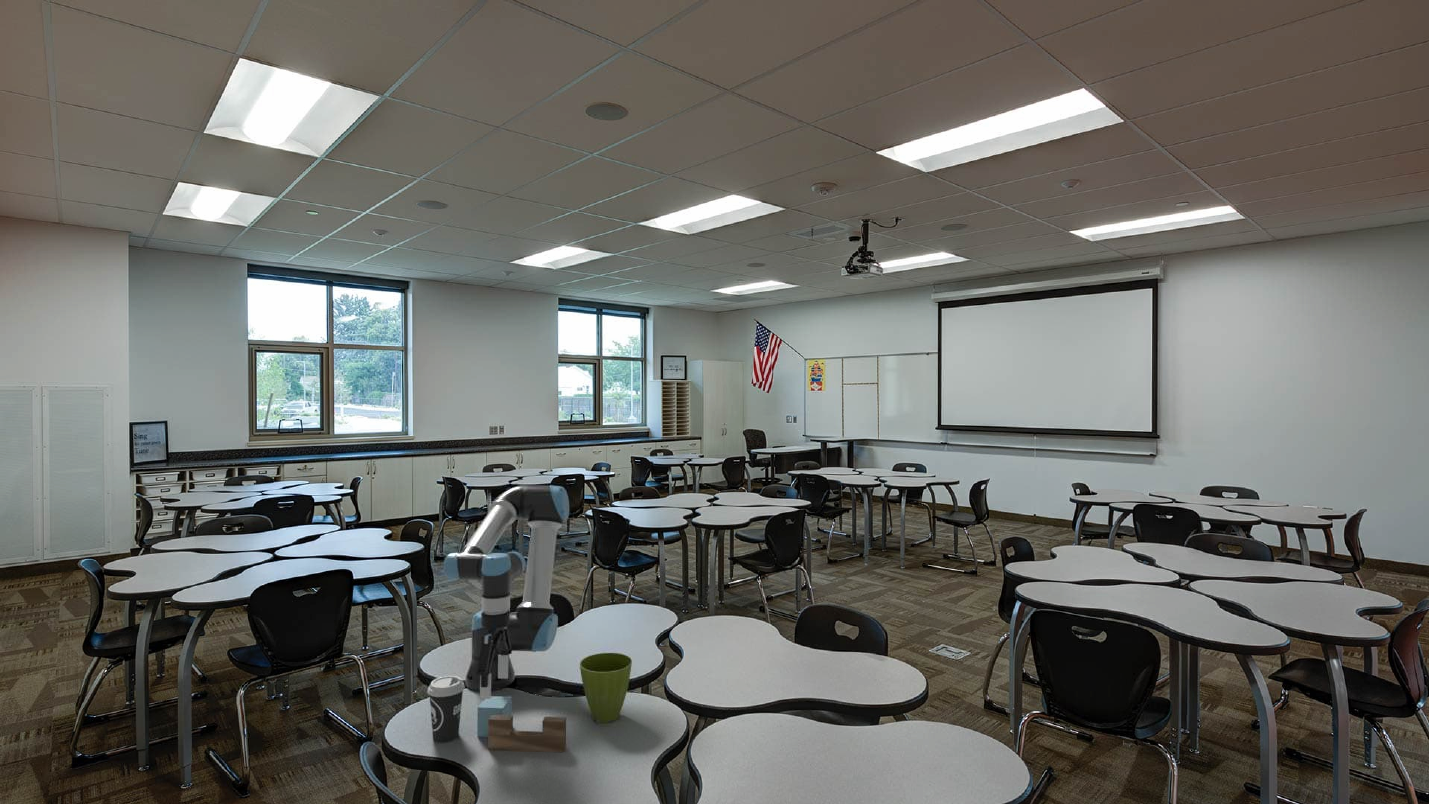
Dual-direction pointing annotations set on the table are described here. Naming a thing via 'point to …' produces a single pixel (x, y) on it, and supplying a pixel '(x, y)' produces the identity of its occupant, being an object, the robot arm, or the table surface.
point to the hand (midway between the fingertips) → (494, 687)
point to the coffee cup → (445, 707)
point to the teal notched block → (491, 712)
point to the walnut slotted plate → (526, 735)
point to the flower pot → (605, 684)
